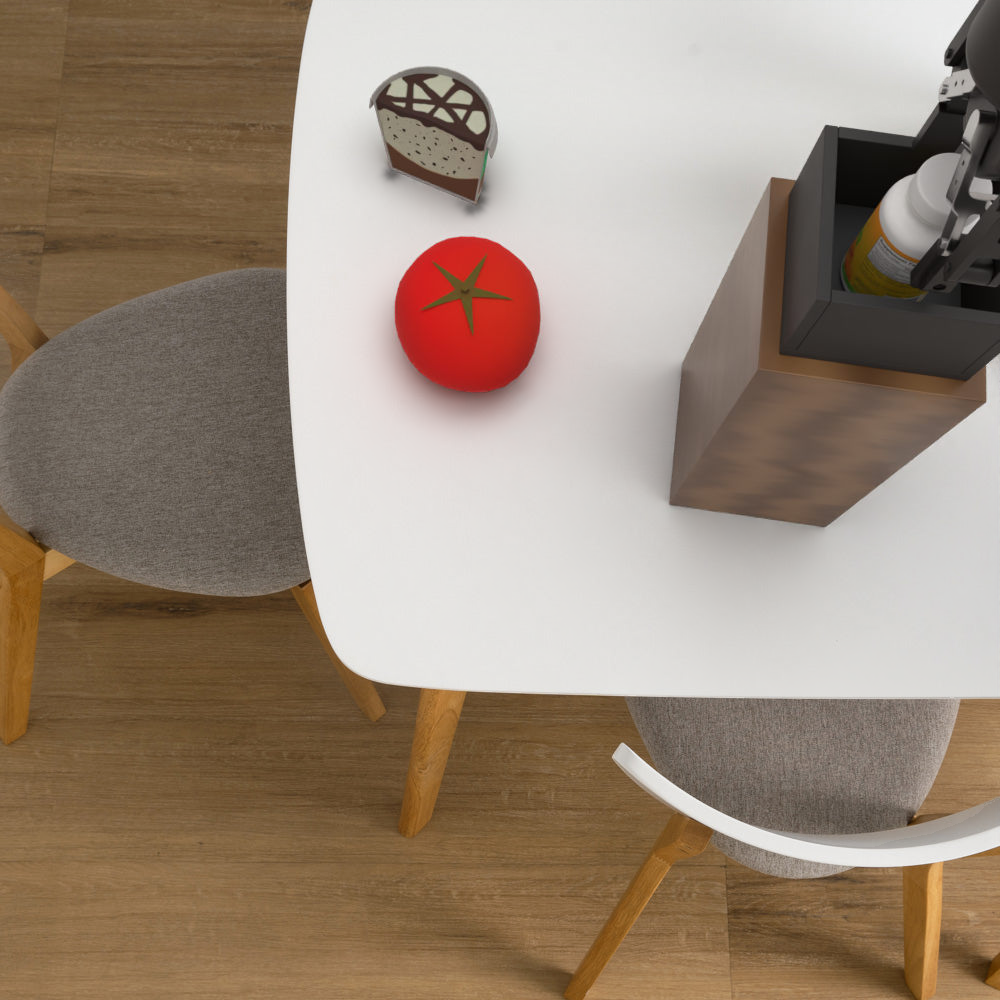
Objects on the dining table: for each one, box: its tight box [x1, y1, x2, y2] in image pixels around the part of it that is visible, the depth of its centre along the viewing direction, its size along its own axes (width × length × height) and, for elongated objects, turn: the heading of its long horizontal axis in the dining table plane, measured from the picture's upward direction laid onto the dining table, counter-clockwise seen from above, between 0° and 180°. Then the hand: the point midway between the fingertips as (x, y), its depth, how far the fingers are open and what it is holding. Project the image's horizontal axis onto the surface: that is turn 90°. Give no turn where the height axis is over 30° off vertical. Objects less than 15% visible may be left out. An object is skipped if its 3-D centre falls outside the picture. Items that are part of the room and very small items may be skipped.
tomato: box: [394, 235, 542, 393], centre depth 85 cm, size 14×13×10 cm
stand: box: [668, 176, 987, 528], centre depth 74 cm, size 14×14×28 cm
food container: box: [368, 65, 499, 205], centre depth 91 cm, size 12×6×10 cm, turn 65°
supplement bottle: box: [840, 153, 992, 302], centre depth 55 cm, size 5×5×10 cm
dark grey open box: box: [779, 124, 1000, 381], centre depth 58 cm, size 12×12×7 cm
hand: (927, 217), depth 54 cm, fingers open, 8 cm apart
